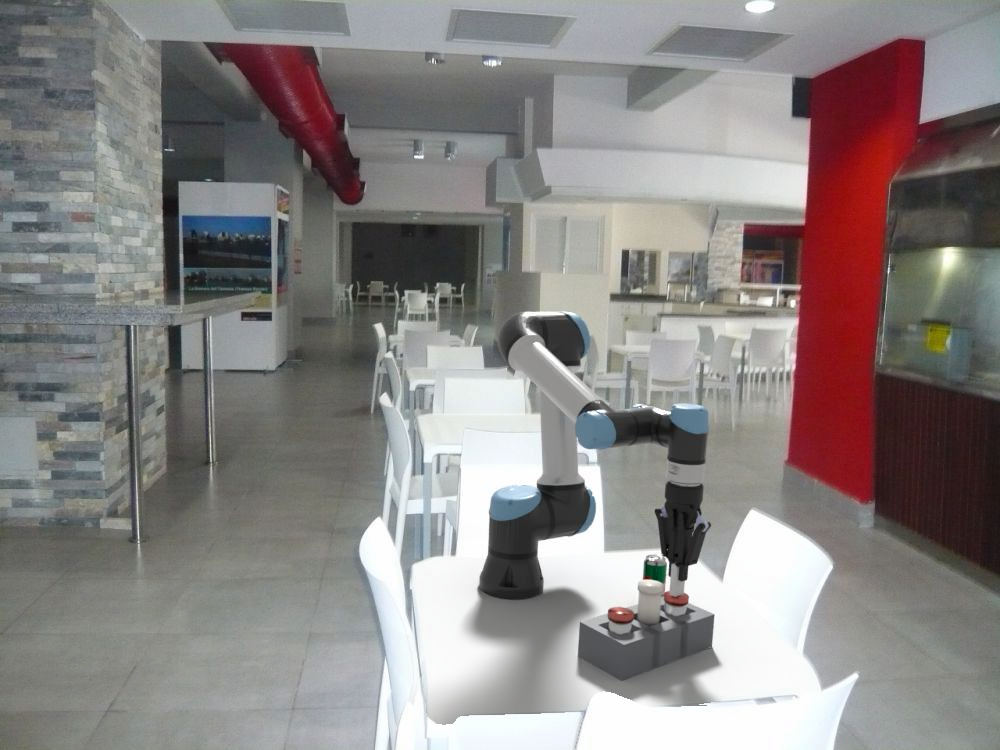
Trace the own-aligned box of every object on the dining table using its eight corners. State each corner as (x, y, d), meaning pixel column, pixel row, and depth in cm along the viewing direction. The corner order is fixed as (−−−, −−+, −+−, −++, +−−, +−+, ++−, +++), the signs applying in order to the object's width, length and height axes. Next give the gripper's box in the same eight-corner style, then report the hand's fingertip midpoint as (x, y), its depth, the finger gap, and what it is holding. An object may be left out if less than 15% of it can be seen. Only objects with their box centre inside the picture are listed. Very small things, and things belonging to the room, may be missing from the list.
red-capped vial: (599, 654, 170) (602, 610, 169) (617, 648, 173) (620, 605, 172) (618, 664, 166) (621, 619, 165) (636, 658, 170) (639, 613, 168)
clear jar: (655, 635, 180) (658, 593, 179) (672, 630, 183) (675, 588, 182) (674, 644, 176) (677, 602, 175) (690, 638, 179) (694, 596, 178)
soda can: (663, 615, 193) (667, 562, 192) (640, 612, 194) (643, 560, 193) (663, 606, 198) (667, 555, 197) (641, 603, 199) (644, 552, 198)
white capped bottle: (629, 625, 175) (632, 582, 173) (647, 620, 178) (650, 577, 177) (648, 635, 171) (651, 590, 170) (665, 629, 174) (668, 585, 173)
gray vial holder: (621, 680, 162) (624, 644, 161) (577, 655, 172) (579, 621, 171) (711, 646, 178) (714, 614, 177) (667, 625, 188) (669, 594, 187)
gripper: (647, 476, 178) (640, 587, 181) (698, 491, 168) (689, 609, 171) (672, 472, 183) (664, 580, 186) (723, 486, 172) (714, 601, 176)
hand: (676, 594), depth 178 cm, fingers closed
